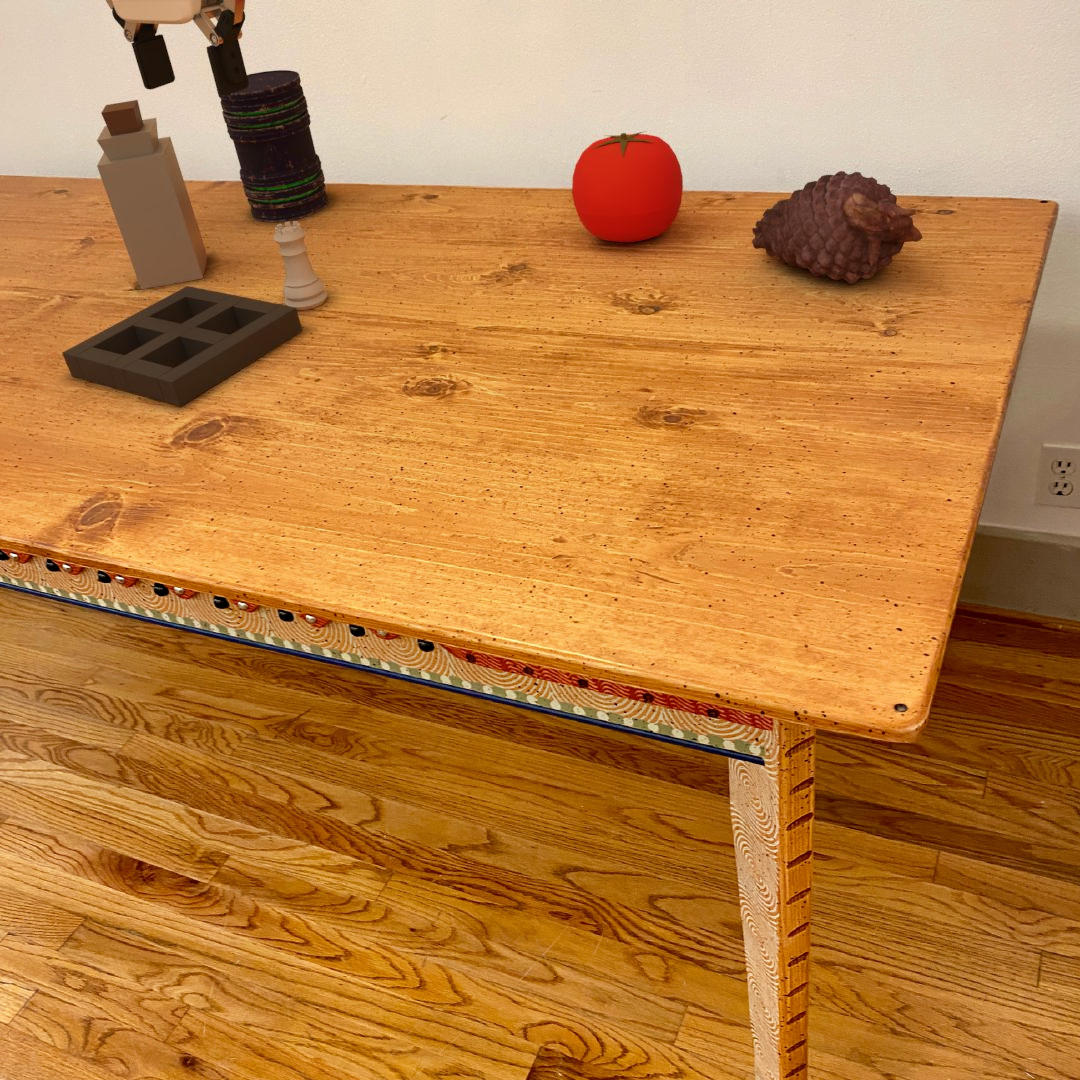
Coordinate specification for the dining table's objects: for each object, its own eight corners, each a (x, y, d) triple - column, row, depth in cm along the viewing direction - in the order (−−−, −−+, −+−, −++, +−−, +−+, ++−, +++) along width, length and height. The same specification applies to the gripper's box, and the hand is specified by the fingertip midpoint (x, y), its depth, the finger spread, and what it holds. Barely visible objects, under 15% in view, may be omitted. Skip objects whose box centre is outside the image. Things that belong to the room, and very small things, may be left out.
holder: (71, 376, 103) (61, 352, 101) (194, 308, 113) (187, 285, 111) (180, 407, 95) (171, 382, 94) (302, 331, 105) (296, 307, 103)
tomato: (684, 211, 118) (680, 111, 112) (685, 255, 109) (680, 148, 102) (581, 219, 120) (571, 121, 114) (573, 263, 110) (562, 159, 104)
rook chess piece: (276, 305, 111) (255, 229, 106) (313, 289, 113) (293, 214, 108) (300, 315, 108) (280, 238, 103) (337, 299, 110) (318, 222, 105)
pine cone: (720, 279, 103) (731, 172, 102) (783, 296, 109) (794, 195, 109) (886, 268, 90) (900, 144, 89) (947, 287, 96) (961, 172, 95)
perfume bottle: (207, 256, 125) (156, 92, 114) (202, 278, 119) (148, 109, 109) (148, 266, 124) (91, 103, 114) (141, 289, 119) (80, 120, 108)
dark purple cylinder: (319, 187, 140) (290, 65, 131) (339, 208, 133) (309, 80, 124) (243, 206, 138) (208, 83, 129) (259, 228, 130) (223, 99, 121)
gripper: (31, -124, 89) (102, 94, 99) (171, -133, 81) (233, 106, 91) (105, -136, 94) (165, 72, 104) (244, -147, 85) (295, 82, 95)
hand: (196, 88), depth 97 cm, fingers open, 9 cm apart
